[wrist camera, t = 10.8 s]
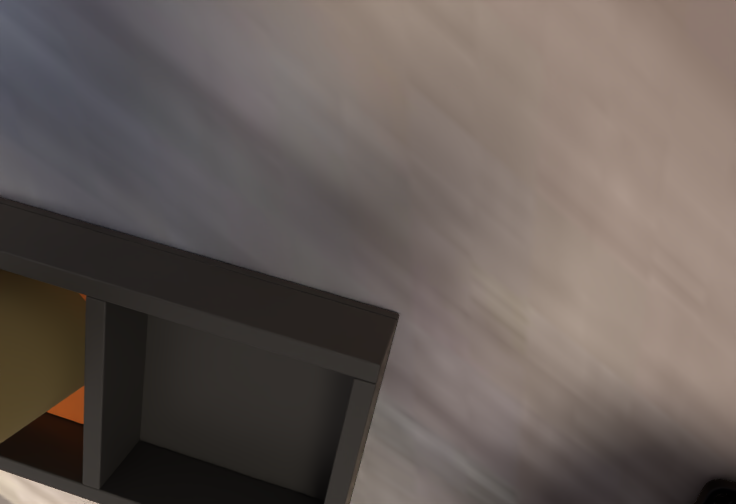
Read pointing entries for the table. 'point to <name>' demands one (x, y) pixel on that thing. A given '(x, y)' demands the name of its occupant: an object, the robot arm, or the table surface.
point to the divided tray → (195, 375)
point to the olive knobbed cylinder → (37, 349)
